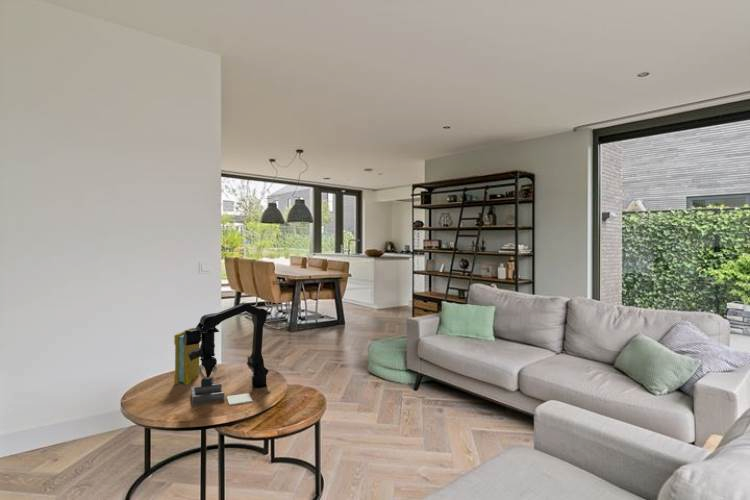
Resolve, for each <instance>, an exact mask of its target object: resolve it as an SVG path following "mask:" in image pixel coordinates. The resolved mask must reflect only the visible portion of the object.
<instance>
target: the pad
mask: <svg viewBox="0 0 750 500" xmlns="http://www.w3.org/2000/svg"><path fill="white" fill-rule="evenodd" d="M226 399H227V402H228V406H235V405H243V404H248V403H253V399H252V396H251V395H250V393H249V392H248V393H240V394H234V395H227V396H226Z"/></svg>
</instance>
